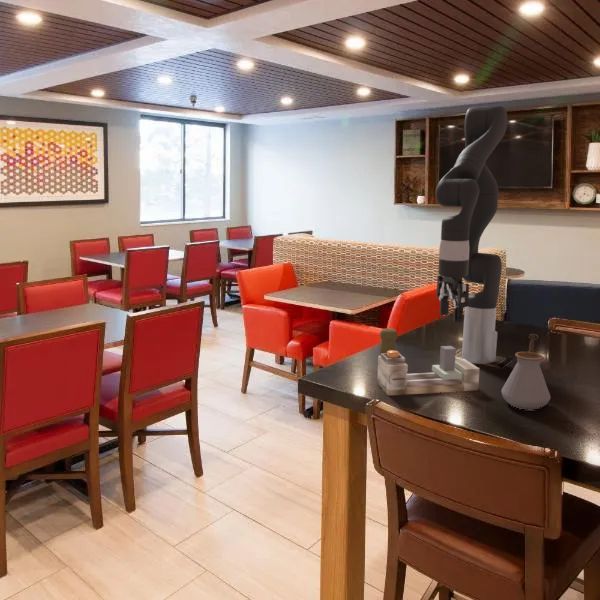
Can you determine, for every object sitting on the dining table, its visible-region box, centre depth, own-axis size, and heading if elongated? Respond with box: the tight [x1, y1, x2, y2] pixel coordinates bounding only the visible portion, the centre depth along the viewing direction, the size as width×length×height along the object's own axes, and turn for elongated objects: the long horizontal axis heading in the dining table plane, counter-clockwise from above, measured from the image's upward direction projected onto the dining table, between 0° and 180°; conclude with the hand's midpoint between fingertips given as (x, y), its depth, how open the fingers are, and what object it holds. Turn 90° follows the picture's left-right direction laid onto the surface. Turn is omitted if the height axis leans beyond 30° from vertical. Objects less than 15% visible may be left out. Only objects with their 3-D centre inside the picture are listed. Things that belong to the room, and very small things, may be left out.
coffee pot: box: [501, 332, 552, 411], centre depth 152 cm, size 21×12×15 cm, turn 155°
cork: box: [378, 327, 398, 356], centre depth 179 cm, size 6×6×11 cm
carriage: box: [431, 345, 462, 380], centre depth 160 cm, size 5×8×8 cm, turn 11°
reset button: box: [387, 350, 400, 358], centre depth 157 cm, size 3×3×2 cm
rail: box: [376, 352, 480, 396], centre depth 159 cm, size 25×10×9 cm, turn 101°
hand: (450, 318), depth 158 cm, fingers open, 8 cm apart
